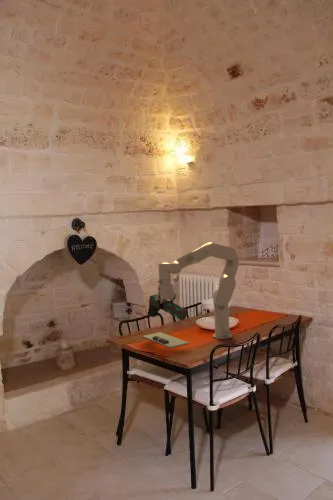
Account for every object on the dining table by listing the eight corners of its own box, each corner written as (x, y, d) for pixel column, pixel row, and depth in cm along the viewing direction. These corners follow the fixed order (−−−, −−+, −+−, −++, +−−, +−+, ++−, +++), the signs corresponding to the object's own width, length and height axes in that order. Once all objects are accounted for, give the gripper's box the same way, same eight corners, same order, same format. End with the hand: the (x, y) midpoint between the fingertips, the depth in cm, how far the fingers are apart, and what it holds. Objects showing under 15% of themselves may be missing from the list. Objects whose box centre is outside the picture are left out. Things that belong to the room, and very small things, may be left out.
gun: (152, 311, 328) (156, 291, 324) (184, 330, 310) (189, 309, 306) (145, 313, 323) (149, 293, 319) (178, 332, 305) (182, 311, 301)
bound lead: (169, 342, 306) (169, 340, 305) (164, 344, 304) (164, 341, 303) (156, 338, 318) (156, 335, 318) (152, 339, 316) (152, 336, 316)
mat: (188, 343, 304) (188, 342, 304) (170, 348, 297) (170, 346, 297) (160, 333, 333) (160, 332, 333) (142, 337, 326) (142, 335, 326)
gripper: (156, 283, 305) (158, 311, 307) (179, 280, 314) (180, 307, 316) (150, 282, 311) (152, 309, 313) (173, 279, 321) (174, 305, 322)
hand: (166, 308), depth 314 cm, fingers closed on gun, 7 cm apart
